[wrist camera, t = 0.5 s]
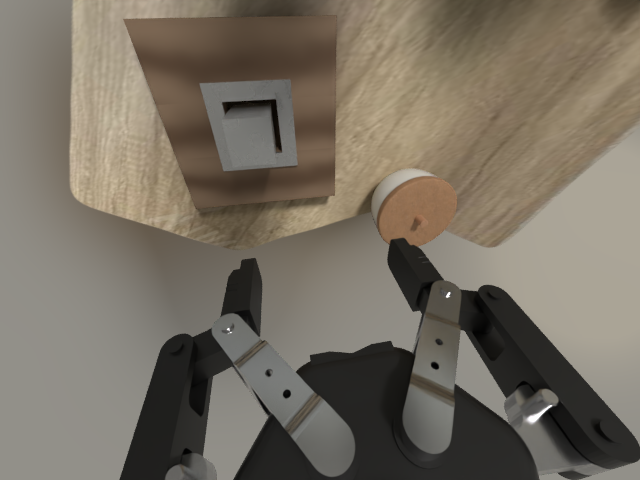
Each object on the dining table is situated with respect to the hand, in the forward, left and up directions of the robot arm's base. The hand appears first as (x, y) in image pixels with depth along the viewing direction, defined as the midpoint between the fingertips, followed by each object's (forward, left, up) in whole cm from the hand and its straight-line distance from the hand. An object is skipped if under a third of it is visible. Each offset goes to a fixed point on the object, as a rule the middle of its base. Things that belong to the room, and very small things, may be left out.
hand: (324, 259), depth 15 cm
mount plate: (-2, -5, -28) cm, 29 cm away
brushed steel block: (-2, -5, -28) cm, 29 cm away
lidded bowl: (+11, +18, -28) cm, 35 cm away
